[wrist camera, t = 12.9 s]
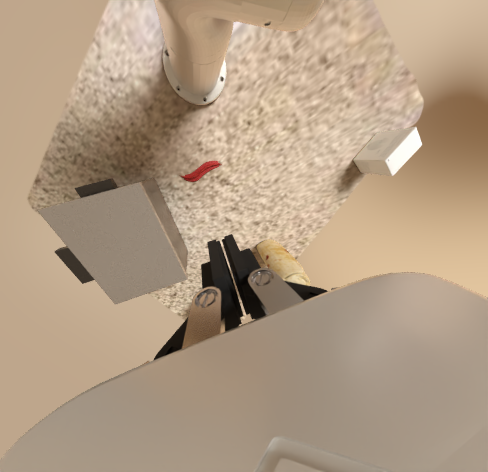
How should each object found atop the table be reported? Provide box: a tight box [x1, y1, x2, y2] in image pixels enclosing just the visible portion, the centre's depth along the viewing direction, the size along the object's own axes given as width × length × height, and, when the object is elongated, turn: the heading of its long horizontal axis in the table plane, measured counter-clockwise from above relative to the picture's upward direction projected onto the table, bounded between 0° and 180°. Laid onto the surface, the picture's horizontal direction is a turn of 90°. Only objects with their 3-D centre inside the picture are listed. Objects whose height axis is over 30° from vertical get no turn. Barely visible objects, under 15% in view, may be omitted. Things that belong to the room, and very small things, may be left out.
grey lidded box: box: [75, 178, 188, 271], centre depth 42 cm, size 26×16×12 cm, turn 14°
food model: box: [257, 239, 310, 286], centre depth 51 cm, size 10×7×20 cm
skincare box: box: [353, 127, 422, 176], centre depth 50 cm, size 10×6×10 cm, turn 139°
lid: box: [37, 182, 188, 304], centre depth 36 cm, size 23×19×1 cm
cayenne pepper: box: [179, 161, 221, 182], centre depth 45 cm, size 12×5×2 cm, turn 94°
